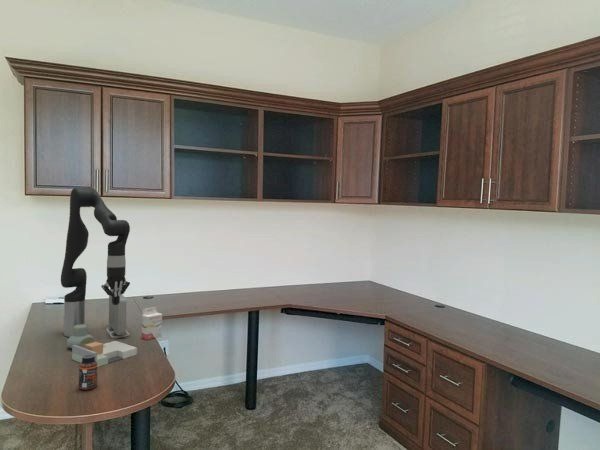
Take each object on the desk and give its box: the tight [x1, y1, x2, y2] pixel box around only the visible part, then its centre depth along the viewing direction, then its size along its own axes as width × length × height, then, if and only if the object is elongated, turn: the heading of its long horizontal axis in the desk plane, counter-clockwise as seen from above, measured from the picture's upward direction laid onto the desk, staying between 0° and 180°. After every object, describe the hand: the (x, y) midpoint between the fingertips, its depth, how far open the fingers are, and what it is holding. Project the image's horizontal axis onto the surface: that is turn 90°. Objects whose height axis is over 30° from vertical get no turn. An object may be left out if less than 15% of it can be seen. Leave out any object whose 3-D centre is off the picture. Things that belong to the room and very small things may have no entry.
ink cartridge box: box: [141, 306, 163, 341], centre depth 211 cm, size 9×5×15 cm, turn 141°
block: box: [85, 341, 104, 355], centre depth 178 cm, size 5×5×4 cm
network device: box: [105, 294, 130, 339], centre depth 218 cm, size 26×9×20 cm, turn 33°
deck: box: [71, 340, 138, 368], centre depth 183 cm, size 16×20×6 cm
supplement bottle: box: [78, 355, 98, 391], centre depth 152 cm, size 6×6×11 cm
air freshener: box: [66, 323, 95, 349], centre depth 194 cm, size 11×8×10 cm
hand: (115, 304), depth 186 cm, fingers closed
